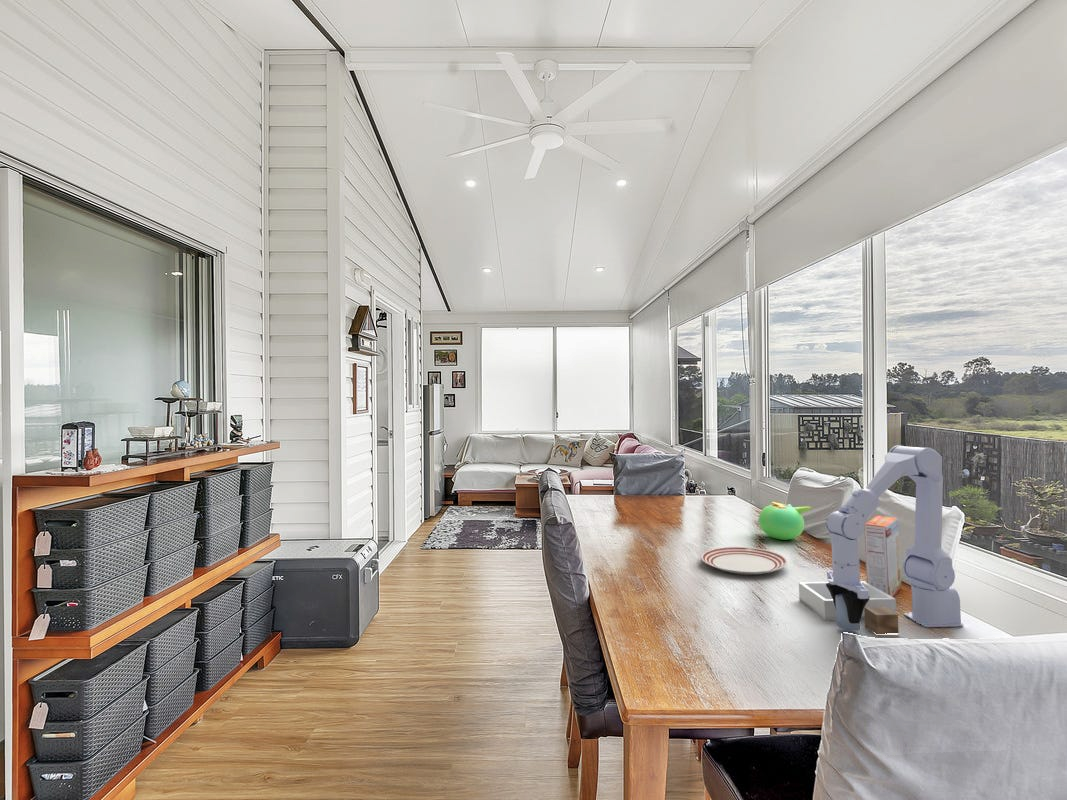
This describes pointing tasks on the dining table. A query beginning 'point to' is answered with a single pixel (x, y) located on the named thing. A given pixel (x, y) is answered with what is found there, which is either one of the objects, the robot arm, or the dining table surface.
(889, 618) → the walnut cube
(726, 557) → the dinner plate
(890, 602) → the tote
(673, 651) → the dining table surface
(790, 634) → the dining table surface
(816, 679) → the dining table surface
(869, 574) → the cracker box
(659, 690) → the dining table surface
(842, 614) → the blue cylinder
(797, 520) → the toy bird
